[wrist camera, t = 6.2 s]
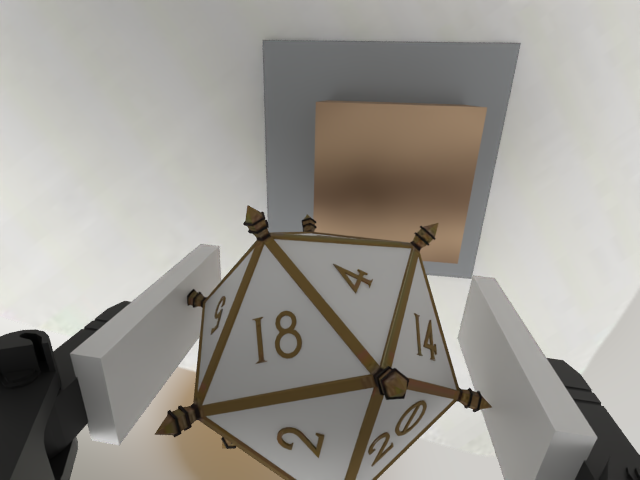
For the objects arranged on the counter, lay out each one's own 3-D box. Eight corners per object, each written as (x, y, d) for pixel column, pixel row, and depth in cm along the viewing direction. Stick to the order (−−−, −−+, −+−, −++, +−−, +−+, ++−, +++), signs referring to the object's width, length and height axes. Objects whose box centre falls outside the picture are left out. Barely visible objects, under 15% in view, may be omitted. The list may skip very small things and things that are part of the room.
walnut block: (327, 100, 28) (315, 101, 22) (464, 104, 26) (487, 107, 21) (323, 224, 31) (312, 251, 26) (442, 232, 30) (457, 263, 25)
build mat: (265, 41, 27) (262, 40, 27) (517, 44, 25) (520, 43, 24) (270, 258, 34) (269, 260, 33) (469, 275, 32) (471, 278, 31)
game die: (352, 210, 17) (527, 120, 8) (401, 384, 17) (646, 512, 7) (154, 259, 15) (48, 211, 5) (208, 468, 14) (206, 841, 5)
